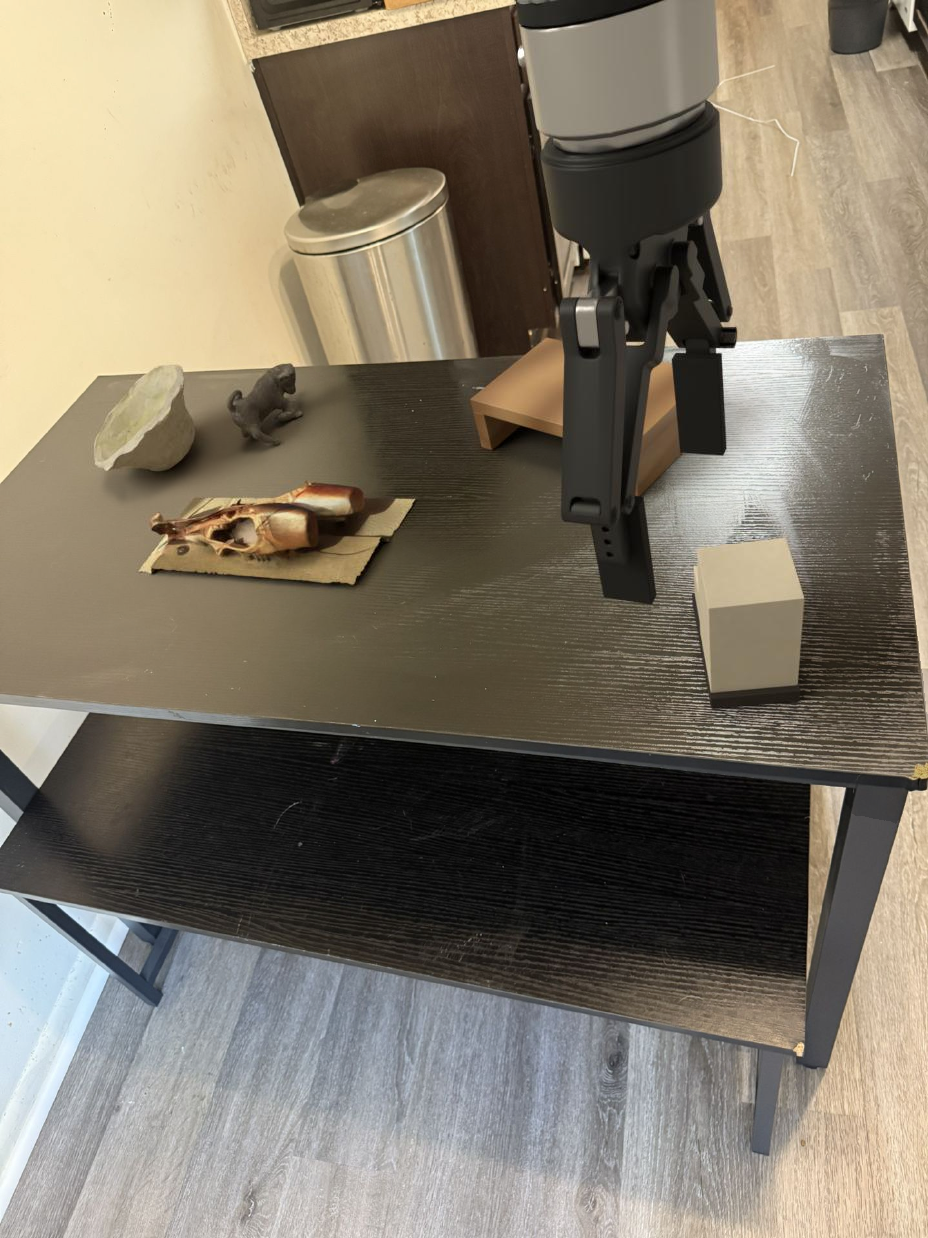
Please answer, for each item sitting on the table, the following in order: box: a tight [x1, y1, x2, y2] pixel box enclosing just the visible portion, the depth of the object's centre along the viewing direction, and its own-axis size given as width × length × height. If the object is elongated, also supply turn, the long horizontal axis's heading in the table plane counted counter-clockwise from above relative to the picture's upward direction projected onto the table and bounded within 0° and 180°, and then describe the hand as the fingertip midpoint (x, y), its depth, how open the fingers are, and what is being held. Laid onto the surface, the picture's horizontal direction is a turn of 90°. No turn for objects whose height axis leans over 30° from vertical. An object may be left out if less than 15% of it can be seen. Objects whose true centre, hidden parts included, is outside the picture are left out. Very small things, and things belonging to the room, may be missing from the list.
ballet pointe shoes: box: [138, 480, 416, 585], centre depth 88 cm, size 14×7×28 cm
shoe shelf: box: [469, 337, 683, 496], centre depth 88 cm, size 20×13×6 cm, turn 48°
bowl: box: [93, 364, 196, 472], centre depth 103 cm, size 15×14×10 cm
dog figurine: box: [226, 362, 304, 446], centre depth 104 cm, size 12×6×7 cm, turn 152°
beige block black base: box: [691, 537, 805, 709], centre depth 63 cm, size 11×6×10 cm, turn 176°
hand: (669, 518), depth 50 cm, fingers open, 13 cm apart
